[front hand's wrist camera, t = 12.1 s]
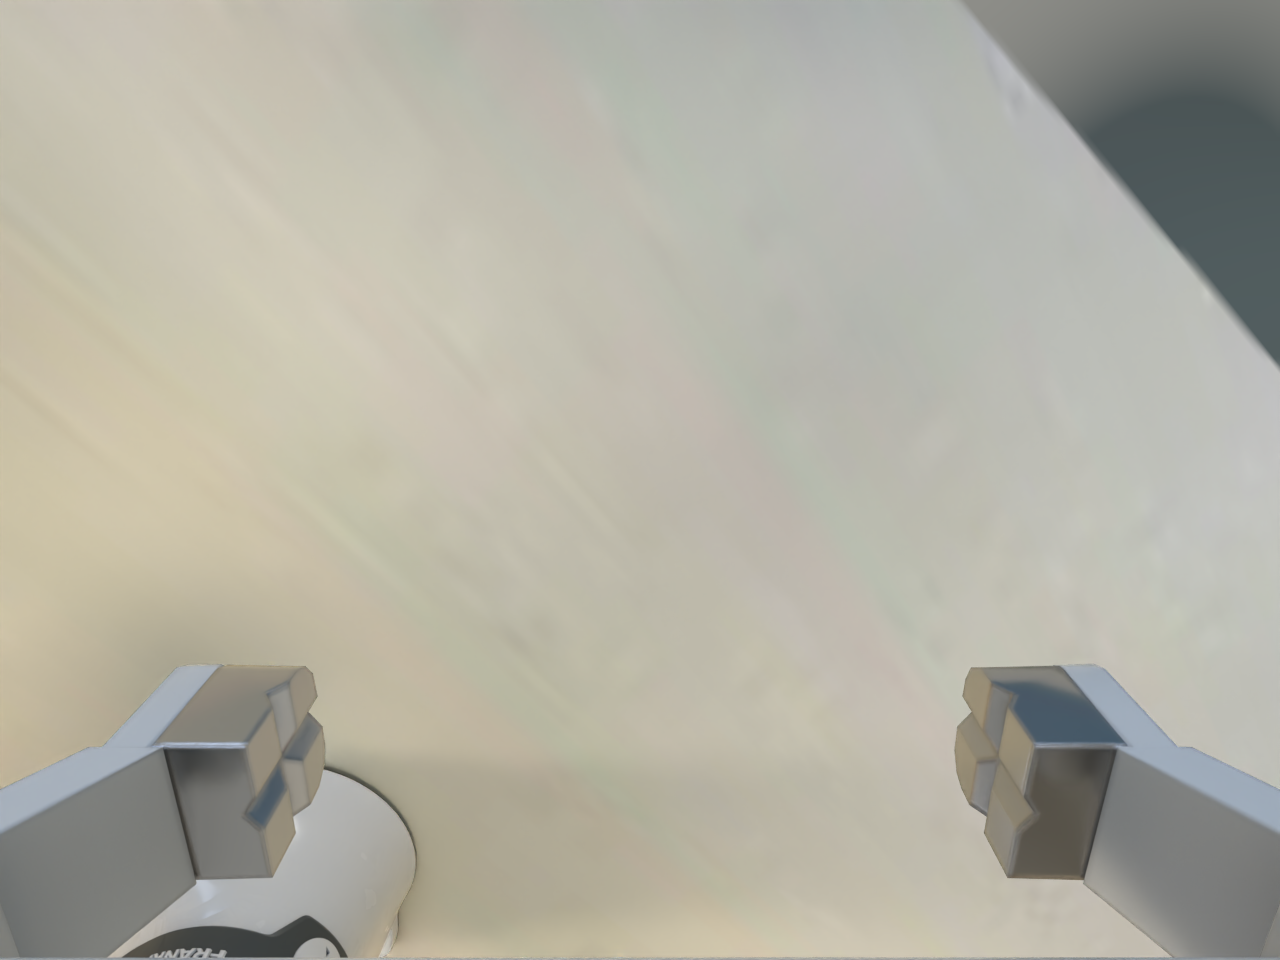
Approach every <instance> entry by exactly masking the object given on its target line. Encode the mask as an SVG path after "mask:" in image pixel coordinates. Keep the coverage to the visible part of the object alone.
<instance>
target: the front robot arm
mask: <svg viewBox="0 0 1280 960" xmlns="http://www.w3.org/2000/svg"><path fill="white" fill-rule="evenodd" d="M316 698H317V691H316V686H315V681H314V677H313V673H312V672H311V671H310V670H309V669H308V668H307V667H306V666H267V665H222V664H203V665H184V666H181V667H177V668H176V669H175V670H174V671H173V672H172V673H171V674H170V675H169V676H168V677H167V678H166V679H165V680H164V681H163V682H162V684H161V685H160V686H159V687H158V688H157V689H156V690H155V691H154V692H153V693H152V694H151V695H150V696H149V697H148V699H147V700H146V701H145V702H144V703H143V704H142V705H141V706H140V707H139V708H138V709H137V710H136V711H135V712H134V714H133V715H132V716H131V717H130V718H129V719H128V720H127V721H126V722H125V723H124V724H123V725H122V726H121V727H120V728H119V730H118V731H117V732H116V733H115V734H114V735H113V736H112V737H111V738H110V739H109V740H108V741H107V742H106V743H105V745H104V746H103V747H88V748H86V749H84V750H82V751H79V752H77V753H75V754H73V755H71V756H69V757H67V758H65V759H63V760H61V761H59V762H57V763H54V764H52V765H50V766H48V767H46V768H44V769H42V770H40V771H38V772H36V773H34V774H32V775H29V776H27V777H25V778H23V779H21V780H19V781H17V782H15V783H13V784H11V785H9V786H6V787H4V788H2V789H0V960H1280V789H1277V788H1275V787H1273V786H1271V785H1269V784H1267V783H1265V782H1263V781H1261V780H1259V779H1257V778H1255V777H1253V776H1250V775H1248V774H1246V773H1244V772H1242V771H1240V770H1238V769H1236V768H1234V767H1232V766H1230V765H1228V764H1225V763H1223V762H1221V761H1219V760H1217V759H1215V758H1213V757H1211V756H1209V755H1207V754H1205V753H1203V752H1201V751H1198V750H1196V749H1194V748H1192V747H1177V746H1176V744H1175V743H1174V742H1173V741H1172V740H1171V739H1170V738H1169V737H1168V736H1167V735H1166V734H1165V733H1164V732H1163V731H1162V729H1161V728H1160V727H1159V726H1158V725H1157V724H1156V723H1155V722H1154V721H1153V720H1152V719H1151V718H1150V717H1149V716H1148V714H1147V713H1146V712H1145V711H1144V710H1143V709H1142V708H1141V707H1140V706H1139V705H1138V704H1137V703H1136V702H1135V701H1134V700H1133V698H1132V697H1131V696H1130V695H1129V694H1128V693H1127V692H1126V691H1125V690H1124V689H1123V688H1122V687H1121V686H1120V685H1119V683H1118V682H1117V681H1116V680H1115V679H1114V678H1113V677H1112V676H1111V675H1110V674H1109V673H1108V672H1107V671H1106V670H1105V669H1104V668H1102V667H1100V666H1098V665H1095V664H1077V665H1053V666H1023V667H974V668H971V669H970V671H969V673H968V675H967V677H966V679H965V685H964V690H963V698H964V700H965V701H966V703H967V705H968V706H969V708H970V710H971V711H972V712H971V713H970V714H969V715H968V716H967V717H966V718H965V719H964V720H963V721H962V722H961V723H960V724H959V725H958V726H957V734H956V742H955V760H956V771H957V775H958V778H959V782H960V785H961V789H962V791H963V793H964V795H965V797H966V799H967V801H968V803H969V805H971V806H972V807H973V808H975V809H976V810H978V811H979V812H981V813H982V814H984V815H985V816H986V817H987V819H986V824H985V830H984V834H985V836H986V838H987V840H988V842H989V844H990V845H991V847H992V849H993V851H994V853H995V855H996V857H997V859H998V861H999V863H1000V864H1001V866H1002V868H1003V870H1004V872H1005V874H1006V876H1007V878H1029V879H1064V880H1084V882H1083V884H1084V885H1086V886H1087V887H1088V888H1089V889H1090V890H1092V891H1093V892H1094V893H1095V894H1097V895H1098V896H1099V897H1100V898H1101V899H1103V900H1104V901H1105V902H1106V903H1107V904H1109V905H1110V906H1111V907H1112V908H1114V909H1115V910H1116V911H1117V912H1118V913H1120V914H1121V915H1122V916H1123V917H1125V918H1126V919H1127V920H1128V921H1129V922H1131V923H1132V924H1133V925H1134V926H1135V927H1137V928H1138V929H1139V930H1140V931H1142V932H1143V933H1144V934H1145V935H1146V936H1148V937H1149V938H1150V939H1151V940H1153V941H1154V942H1155V943H1156V944H1157V945H1159V946H1160V947H1161V948H1162V949H1163V950H1165V951H1166V952H1167V953H1168V954H1170V955H1171V956H1172V957H1165V958H860V957H728V958H381V957H384V956H386V955H387V954H389V953H390V951H391V949H392V947H393V945H394V943H395V940H396V938H397V934H398V910H399V908H400V906H401V905H402V903H403V901H404V899H405V897H406V895H407V894H408V892H409V890H410V888H411V885H412V883H413V879H414V876H415V869H416V856H415V850H414V846H413V842H412V839H411V837H410V834H409V832H408V830H407V828H406V827H405V825H404V823H403V822H402V820H401V819H400V817H399V816H398V815H397V813H396V812H395V811H394V810H393V809H392V808H391V807H390V806H389V805H388V804H387V803H386V802H385V801H384V800H383V799H382V798H381V797H379V796H378V795H377V794H375V793H374V792H373V791H371V790H370V789H368V788H367V787H365V786H363V785H361V784H360V783H358V782H356V781H354V780H352V779H350V778H347V777H345V776H343V775H340V774H337V773H334V772H331V771H328V770H324V764H325V740H324V733H323V726H322V725H321V724H320V723H319V722H318V721H317V720H316V719H315V718H314V717H313V716H312V715H311V714H310V713H309V712H308V711H309V710H310V708H311V706H312V705H313V703H314V701H315V700H316Z"/></svg>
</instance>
